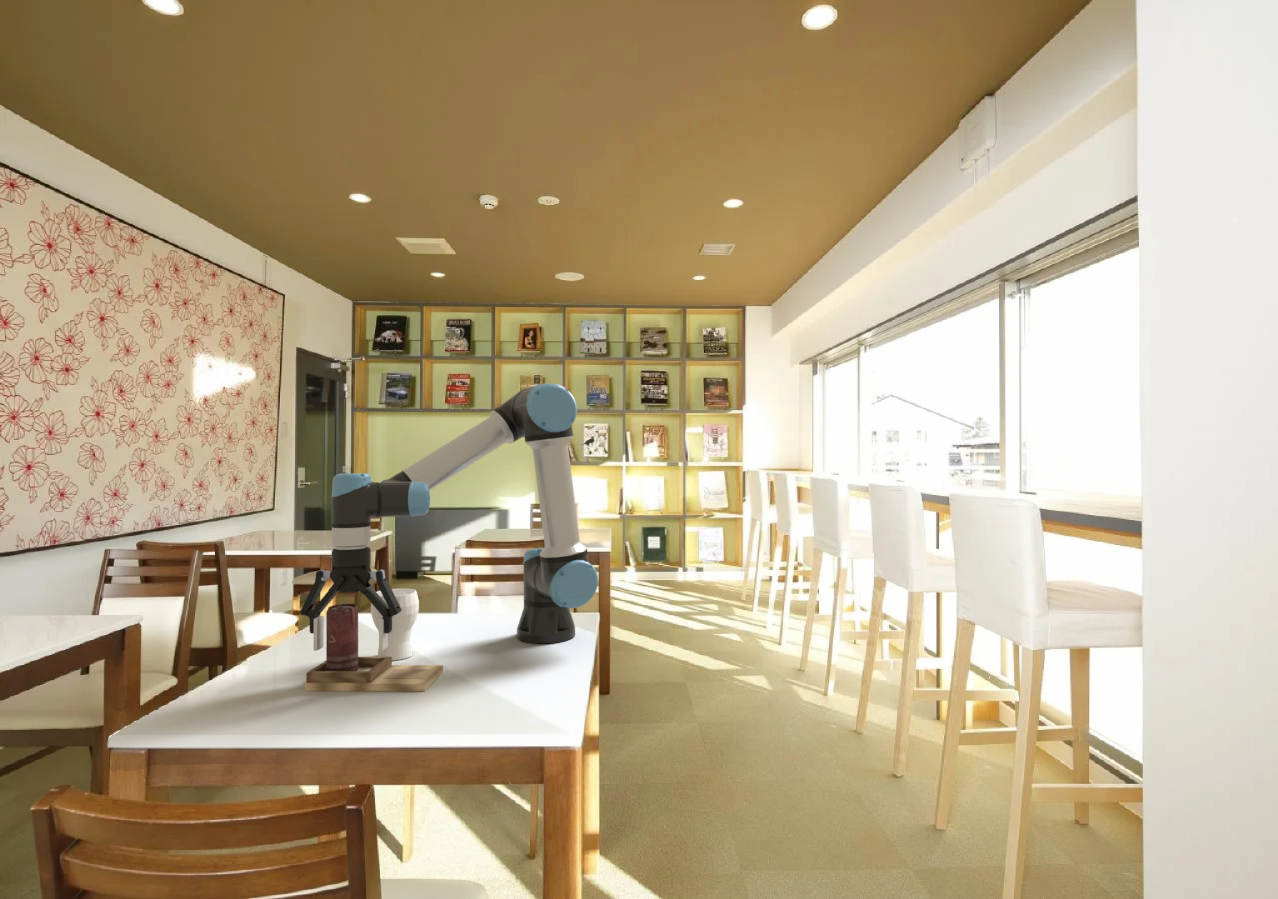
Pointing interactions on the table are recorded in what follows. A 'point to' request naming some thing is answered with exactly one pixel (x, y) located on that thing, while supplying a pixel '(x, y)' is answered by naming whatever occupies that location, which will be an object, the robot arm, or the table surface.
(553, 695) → the table surface
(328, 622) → the can
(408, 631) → the cup
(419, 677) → the holder board
